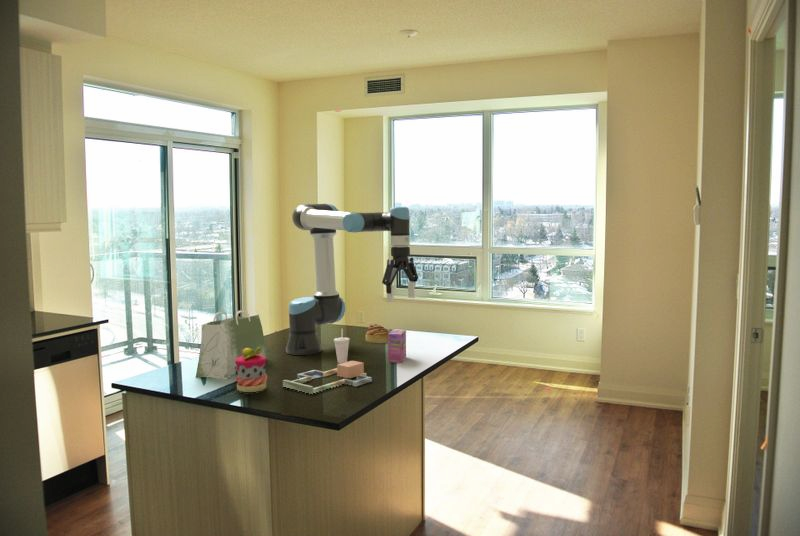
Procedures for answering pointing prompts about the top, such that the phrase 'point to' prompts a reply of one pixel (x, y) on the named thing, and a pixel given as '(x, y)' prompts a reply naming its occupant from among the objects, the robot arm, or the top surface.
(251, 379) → the cake
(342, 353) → the smoothie
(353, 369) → the block
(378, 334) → the pastry
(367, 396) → the top surface
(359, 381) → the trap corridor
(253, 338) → the grocery bag
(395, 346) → the box
